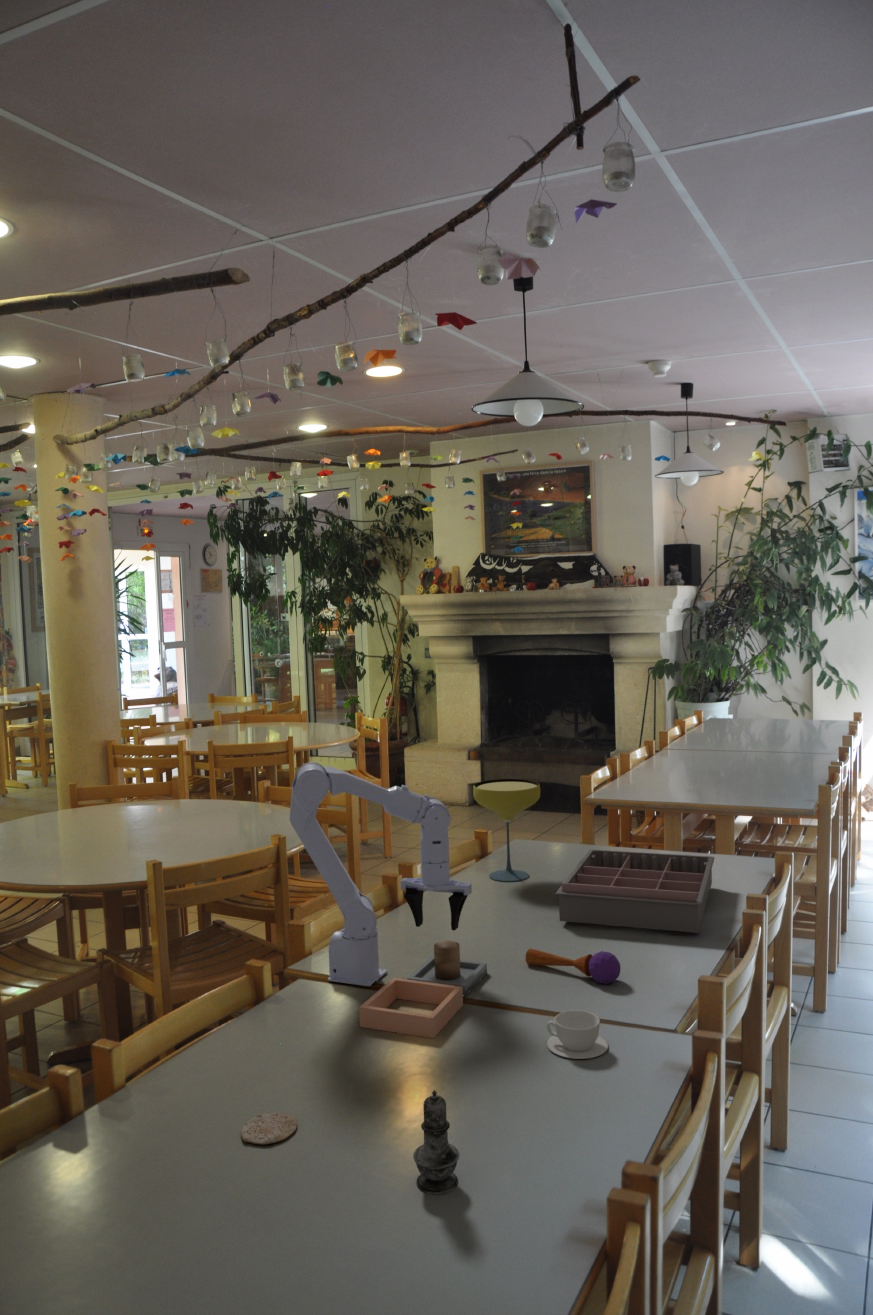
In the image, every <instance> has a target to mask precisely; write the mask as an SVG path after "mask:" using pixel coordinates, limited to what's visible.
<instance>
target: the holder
mask: <svg viewBox="0 0 873 1315" xmlns="http://www.w3.org/2000/svg"><path fill="white" fill-rule="evenodd" d="M463 998H464V996H463V989H462V987H460V986H453V985H445V984H438V983H430V982H423V981H415V980H407V978H399V977H392V978H391V979H390V980H389V981H387V982H386V983H385V984H384V985H383V986H381V987H380V989H378V990H377V991H376V992H375V993H374V994H373V995H372V996H371V997H369V998H368V999H367V1000H365V1002H364V1003H362V1004H361V1005H360V1006H359V1008H358V1011H359V1013H358V1014H359V1027H360V1028H365V1029H373V1030H376V1031H377V1030H378V1031H384V1032H390V1033H396V1032H397V1034H403V1035H404V1034H405V1035H410V1036H416V1037H422V1038H427V1039H428V1038H430V1039H434V1038H435V1037H437V1035H438V1034H439V1033H440V1032H441V1031H442V1029H444V1028H445V1026H446V1025H447V1024H448V1021H449V1020H450V1021H451V1020H452V1018H453V1017H454V1016H456V1014H457V1013H458V1012H459V1011H460V1009H462V1007H463V1006H464V1001H463V1000H464V999H463ZM395 1000H404V1001H411V1002H420V1003H425V1004H426V1003H427V1004H431V1005H432V1004H433V1005H438V1004H439V1005H438V1006H436V1008H435V1009H434V1010H433V1011H432V1012H431V1013H430V1014H426V1013H419V1012H413V1011H412V1012H410V1011H405V1010H399V1009H393V1008H388V1007H389V1006H390V1005H391V1004H392V1003H393V1002H394V1001H395ZM461 1006H462V1007H461ZM458 1010H459V1011H458ZM457 1011H458V1012H457ZM456 1012H457V1013H456ZM455 1013H456V1014H455ZM450 1021H449V1022H450ZM440 1030H441V1031H440Z"/></svg>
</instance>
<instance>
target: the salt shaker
mask: <svg viewBox="0 0 873 1315" xmlns="http://www.w3.org/2000/svg"><path fill="white" fill-rule="evenodd" d="M450 1126H451V1124H450V1122H449V1121H448V1120H447V1103H446V1099H445V1098H444V1097H442V1096H441V1095H439V1094H438V1092H437V1091H436V1089H434V1090H432V1092H431V1095H428V1096H427V1097H426V1098H425V1099H424V1101H423V1122H422V1123H421V1126H420V1128H421V1130H422V1131H423V1144H421V1145H419V1146H418V1147H417V1148H416V1149H415V1150H414V1152H413V1156H412V1158H413V1161H414V1162H415V1166H416V1168H417V1170H418V1172H419V1175H418V1176H417V1179H416V1183H415V1184H416V1187H417V1188H418V1190H420V1191H421V1192H422V1193H425V1194H428V1195H432V1196H439V1195H441V1196H442V1195H446V1194H448V1193H450V1192H452V1191H454V1190H455V1189H457V1187H458V1184H459V1179H458V1177H457V1175H456V1173H454V1172H455V1170H456V1168H457V1164H458V1161H459V1158H460V1152H459V1149H458V1148H457V1147H456V1146H454V1145H453V1144H451V1143H449V1139H448V1138H449V1136H448V1130H449V1129H450Z"/></svg>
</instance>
